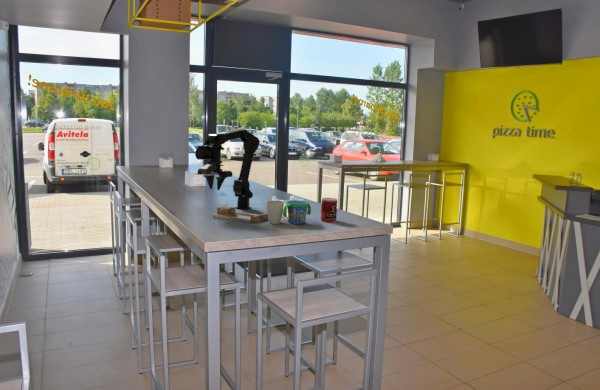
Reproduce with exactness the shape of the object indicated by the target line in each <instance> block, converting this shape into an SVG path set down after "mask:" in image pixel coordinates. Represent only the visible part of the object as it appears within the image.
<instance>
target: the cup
mask: <svg viewBox="0 0 600 390" xmlns="http://www.w3.org/2000/svg"><path fill="white" fill-rule="evenodd" d="M284 207H285V201H282V200H268V201H266V213H267V214H268V222H269V224H272V225H279V224H281V221H282V219H283V210H284Z"/></svg>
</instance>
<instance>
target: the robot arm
mask: <svg viewBox="0 0 600 390" xmlns="http://www.w3.org/2000/svg"><path fill="white" fill-rule="evenodd" d="M236 139H239V140H240V141H241V142H242V144H243V145H242V146H243V150H244V153H243V158H242V163H241V167H240V172H239V176H238V177H237V179H234V181H233V185H232V190H233V192H234V196H235V197H237V206H236V207H235V206H234V207H235V209H238V210H249V209H252V208H253V207H251V206H250V201H251V200H250V199H252V198H253V196H254V193H253V192H252V191H251V189H250V182H249V178H250V177H249V176H250V174H251V173H250V172H251V169H252V163H253V158H254V155H255V153H256V152H257V150H259V149H258V148H259V146H260V143H261V142H260V139H259V138H258V136H255V135H254V134H252V133H251V132H250V131H248V130H247V129H246V128H239V129H236V130H231V131H228V132H224V133H209V134H208V136H207V138H206V140H205V142H204V143H203V145H197V148H196V150H195V152H194V154H195V155H194V156H195V158H196V159H197V160H207V162H206V164H204V165H203V166H201V167H200V168H198V169H197V175H201V176H202V177H204V178H205V179H206V181H207V184H208V187H209V190H212V189H213V186H214V180H215V179H216V190H217V191H220V190H221V187H222V185H223V183H224V182H225V179H226V178H230V177H233V172H232V170H223V168H222V167H221V166H222V164H223V160H221V158H222V155H221V154H222V151H225V148H224V147H223V145H225V143H226V142H229V141H232V140H236ZM215 175H216V176H215Z"/></svg>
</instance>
